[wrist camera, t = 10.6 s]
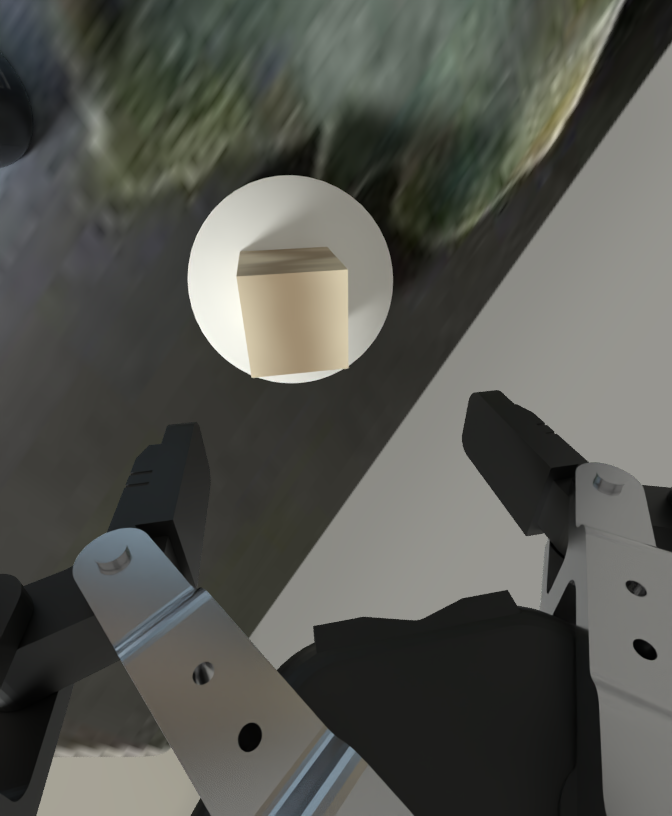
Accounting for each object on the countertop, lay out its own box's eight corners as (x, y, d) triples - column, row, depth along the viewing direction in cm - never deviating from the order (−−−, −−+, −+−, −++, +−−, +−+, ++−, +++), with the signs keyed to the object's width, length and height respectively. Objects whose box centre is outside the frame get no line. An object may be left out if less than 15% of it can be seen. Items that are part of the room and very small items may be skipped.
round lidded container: (373, 177, 28) (405, 180, 22) (359, 342, 34) (382, 379, 28) (188, 168, 26) (170, 169, 20) (211, 346, 32) (202, 387, 26)
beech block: (327, 246, 23) (348, 269, 18) (329, 328, 26) (348, 368, 21) (239, 251, 22) (236, 276, 17) (251, 335, 25) (251, 377, 20)
